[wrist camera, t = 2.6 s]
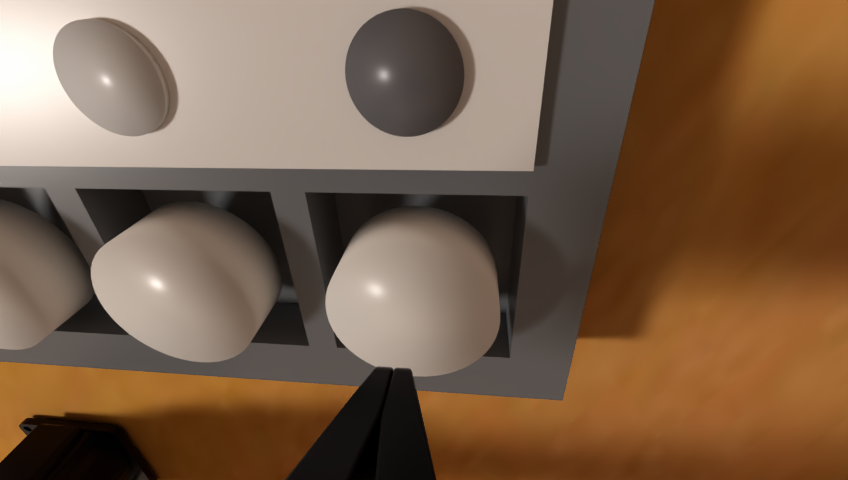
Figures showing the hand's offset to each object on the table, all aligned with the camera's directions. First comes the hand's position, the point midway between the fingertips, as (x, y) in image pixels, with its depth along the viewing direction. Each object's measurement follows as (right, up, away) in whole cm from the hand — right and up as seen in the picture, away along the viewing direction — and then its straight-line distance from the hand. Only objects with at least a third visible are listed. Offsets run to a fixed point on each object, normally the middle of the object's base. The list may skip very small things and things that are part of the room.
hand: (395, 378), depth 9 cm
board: (-6, +5, +5) cm, 10 cm away
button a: (+1, +2, +3) cm, 4 cm away
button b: (-6, +2, +4) cm, 8 cm away
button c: (-13, +3, +5) cm, 14 cm away
